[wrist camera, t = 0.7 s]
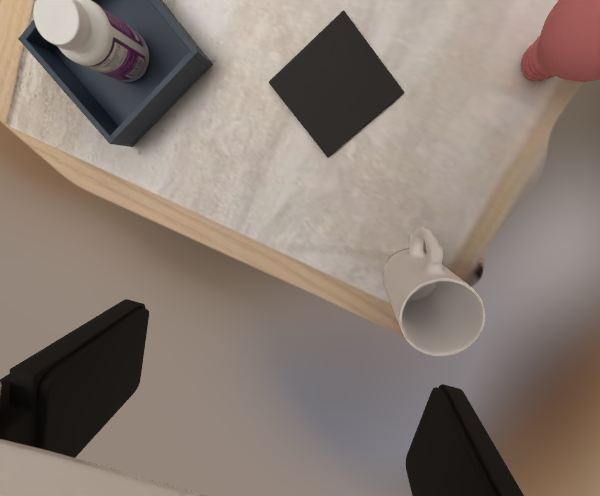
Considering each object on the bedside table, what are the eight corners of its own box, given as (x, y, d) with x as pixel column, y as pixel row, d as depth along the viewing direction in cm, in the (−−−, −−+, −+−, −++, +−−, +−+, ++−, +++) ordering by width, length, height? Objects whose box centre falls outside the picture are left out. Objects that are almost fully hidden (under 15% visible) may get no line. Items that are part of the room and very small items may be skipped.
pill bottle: (99, 33, 36) (15, -16, 26) (145, 24, 35) (76, -29, 26) (111, 87, 37) (34, 58, 28) (155, 79, 36) (93, 47, 27)
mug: (439, 301, 39) (484, 355, 27) (380, 303, 40) (400, 357, 28) (440, 215, 37) (489, 235, 25) (378, 219, 38) (398, 240, 26)
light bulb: (481, 87, 34) (559, 42, 22) (518, 11, 32) (623, -81, 20) (547, 113, 34) (660, 82, 22) (587, 39, 32) (733, -38, 20)
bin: (128, -41, 34) (102, -69, 30) (213, 64, 36) (198, 51, 32) (51, 52, 37) (18, 38, 33) (132, 146, 39) (109, 144, 35)
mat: (343, 11, 33) (343, 10, 33) (403, 93, 34) (404, 92, 34) (269, 83, 36) (268, 82, 35) (327, 157, 37) (327, 157, 36)
